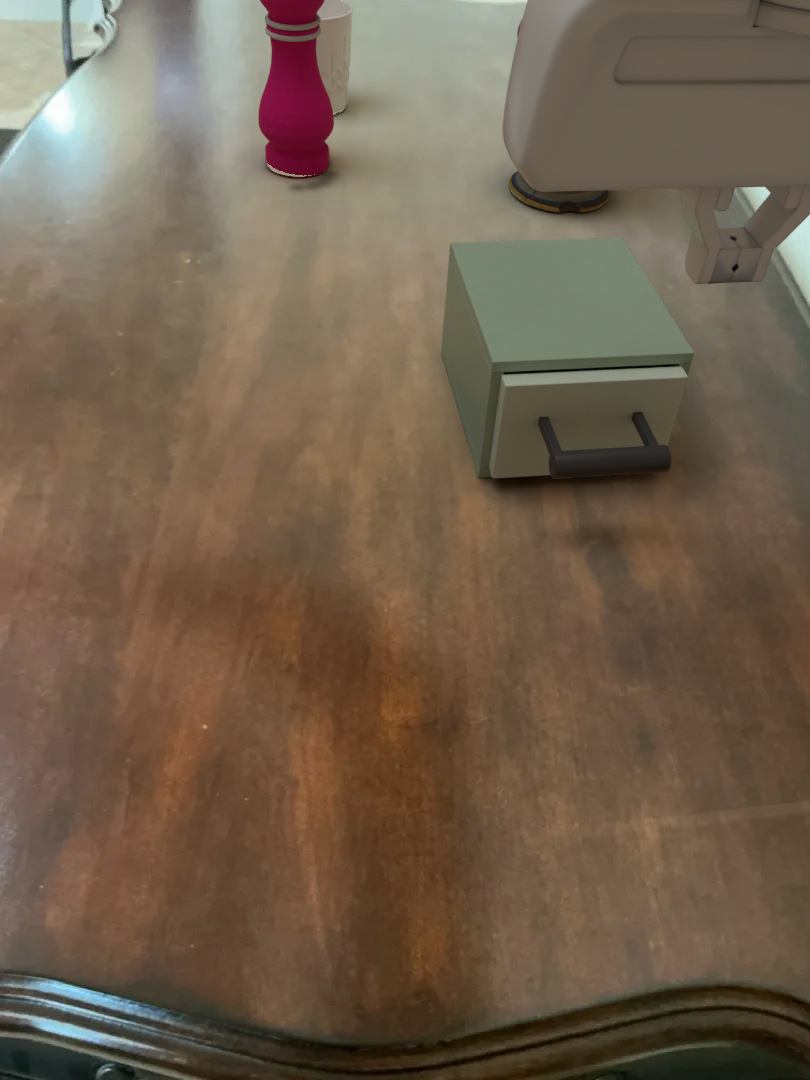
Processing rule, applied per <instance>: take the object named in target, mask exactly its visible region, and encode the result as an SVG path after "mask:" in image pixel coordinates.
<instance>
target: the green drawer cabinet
mask: <svg viewBox="0 0 810 1080" xmlns="http://www.w3.org/2000/svg"><path fill="white" fill-rule="evenodd" d="M447 263H448V265H447V278H446V286H445V287H446V288H445V289H446V290H445V300H444V311H443V312H444V313H443V325H442V334H441V335H442V336H441V348H440V354H441V357H442V361H443V364H444V367H445V368H444V369H445V371H446V374H447V378H448V382H449V385H450V388H451V391H452V394H453V398H454V401H455V406H456V408H457V411H458V415H459V418H460V421H461V425H462V429H463V431H464V435H465V437H466V442H467V445H468V447H469V452H470V455H471V458H472V461H473V466H474V468H475V472H476V474H477V478H478V479H479V478H481V479H482V478H492V476H491V472H490V469H489V462H490V455H491V447H492V440H493V433H494V426H495V418H496V411H497V404H498V397H499V389H500V382H501V376H502V375H504V372H516V371H537V370H559V369H580V368H601V367H623V366H644V365H661V366H660V367H677V366H681V367H682V368H683V369H684V371H685V373H686V374H687V376H689V373H690V369H691V366H692V362H693V359H694V355H695V351H694V350H693V348H692V346H691V345H690V343H689V342H688V340H687V339H686V336H685V335H684V333H683V332H682V330H681V329H680V327H679V325H678V324H677V322H676V320H675V319H674V317H673V316H672V313H670V312H669V310H668V308H667V306H666V304H665V303H664V302H663V300H662V297H660V295H659V293H658V291H657V290H656V288H655V287H654V285H653V283H652V282H651V280H650V279H649V277H648V275H647V274H646V272H645V270H644V269H643V268H642V266H641V264H640V262H639V261H638V260H637V258H636V257H635V255H634V253H633V251H632V250H631V248H630V247H629V245H628V243H627V242H626V240H625V239H624V238H623V237H604V238H603V237H602V238H600V237H599V238H567V239H565V238H563V239H533V240H499V241H497V240H496V241H495V240H494V241H463V242H462V241H461V242H460V241H459V242H458V241H457V242H450V243H449V254H448V262H447Z"/></svg>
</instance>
